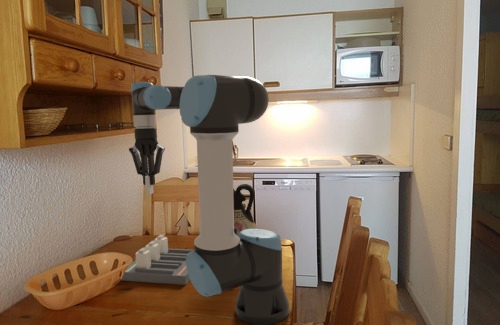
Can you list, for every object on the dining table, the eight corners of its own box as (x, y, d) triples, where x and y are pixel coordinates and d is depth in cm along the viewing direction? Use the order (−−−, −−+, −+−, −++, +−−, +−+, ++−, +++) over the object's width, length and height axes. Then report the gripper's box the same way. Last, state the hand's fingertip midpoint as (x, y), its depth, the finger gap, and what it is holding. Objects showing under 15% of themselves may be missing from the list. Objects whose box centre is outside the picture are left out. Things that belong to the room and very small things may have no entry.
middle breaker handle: (156, 261, 134) (155, 243, 133) (146, 261, 134) (145, 243, 134) (160, 258, 137) (159, 241, 136) (150, 258, 137) (149, 240, 137)
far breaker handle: (164, 254, 140) (163, 237, 140) (155, 254, 141) (154, 237, 140) (168, 251, 143) (167, 234, 142) (158, 251, 144) (157, 234, 143)
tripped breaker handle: (147, 269, 127) (145, 251, 126) (136, 269, 128) (135, 250, 127) (151, 266, 130) (149, 247, 129) (140, 265, 131) (139, 247, 130)
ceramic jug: (215, 266, 136) (211, 187, 132) (227, 251, 150) (224, 179, 147) (260, 269, 131) (257, 187, 128) (268, 253, 146) (266, 179, 142)
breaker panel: (185, 284, 122) (185, 273, 121) (120, 280, 127) (119, 269, 126) (207, 259, 143) (206, 249, 142) (150, 256, 148) (150, 246, 148)
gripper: (167, 126, 130) (171, 191, 133) (133, 127, 133) (138, 191, 136) (157, 127, 123) (162, 196, 126) (122, 128, 126) (127, 195, 129)
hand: (149, 193), depth 131 cm, fingers closed
